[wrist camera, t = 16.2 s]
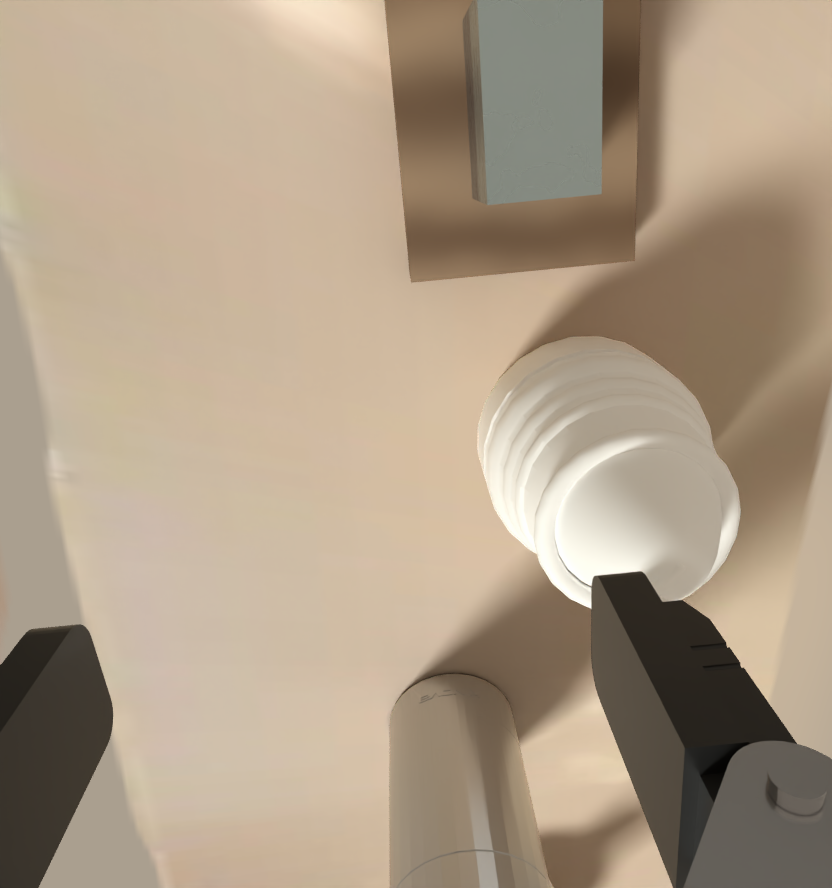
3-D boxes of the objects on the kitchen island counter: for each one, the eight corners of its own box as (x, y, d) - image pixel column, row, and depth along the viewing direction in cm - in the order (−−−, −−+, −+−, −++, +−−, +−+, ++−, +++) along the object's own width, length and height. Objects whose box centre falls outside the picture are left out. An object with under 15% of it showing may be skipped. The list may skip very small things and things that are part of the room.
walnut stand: (617, 254, 41) (634, 260, 38) (409, 274, 41) (411, 282, 38) (622, -81, 35) (643, -101, 32) (379, -57, 35) (378, -76, 32)
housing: (567, 10, 34) (603, -21, 28) (569, 189, 36) (601, 194, 31) (462, 20, 34) (476, -8, 28) (472, 198, 36) (487, 205, 31)
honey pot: (586, 558, 48) (690, 769, 32) (435, 456, 45) (462, 631, 28) (721, 413, 45) (919, 564, 28) (568, 292, 41) (688, 380, 25)
